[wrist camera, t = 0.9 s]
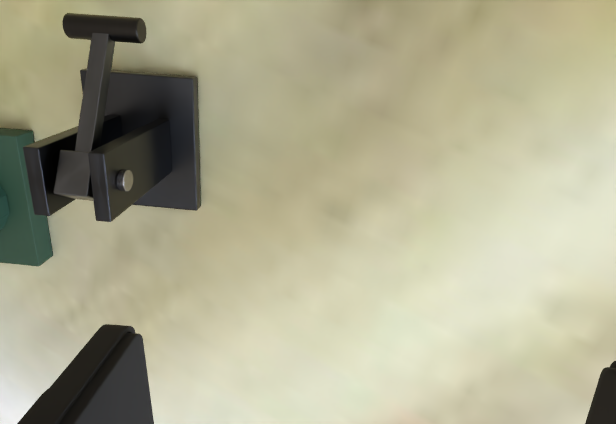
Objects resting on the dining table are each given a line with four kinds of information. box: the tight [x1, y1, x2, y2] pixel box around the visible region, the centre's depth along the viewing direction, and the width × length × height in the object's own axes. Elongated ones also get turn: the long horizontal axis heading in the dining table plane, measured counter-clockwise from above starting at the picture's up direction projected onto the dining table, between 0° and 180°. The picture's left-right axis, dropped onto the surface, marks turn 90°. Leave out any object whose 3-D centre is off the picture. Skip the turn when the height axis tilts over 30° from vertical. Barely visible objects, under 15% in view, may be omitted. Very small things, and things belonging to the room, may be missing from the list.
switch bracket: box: [23, 69, 201, 222], centre depth 34 cm, size 11×9×12 cm
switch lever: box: [54, 13, 146, 201], centre depth 31 cm, size 12×5×2 cm, turn 175°
